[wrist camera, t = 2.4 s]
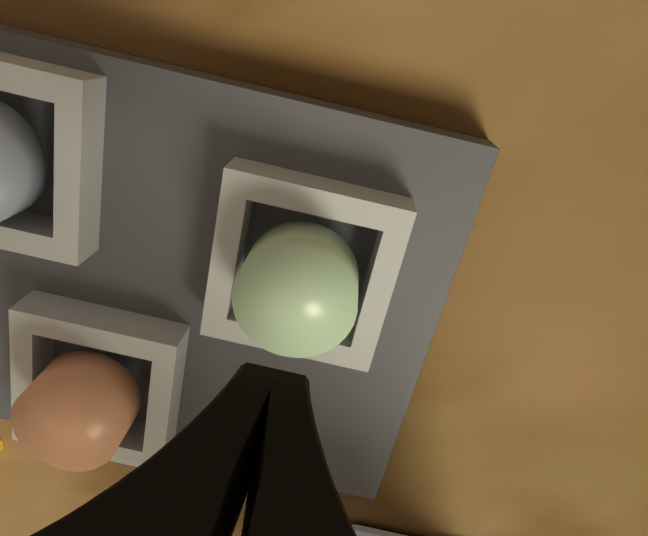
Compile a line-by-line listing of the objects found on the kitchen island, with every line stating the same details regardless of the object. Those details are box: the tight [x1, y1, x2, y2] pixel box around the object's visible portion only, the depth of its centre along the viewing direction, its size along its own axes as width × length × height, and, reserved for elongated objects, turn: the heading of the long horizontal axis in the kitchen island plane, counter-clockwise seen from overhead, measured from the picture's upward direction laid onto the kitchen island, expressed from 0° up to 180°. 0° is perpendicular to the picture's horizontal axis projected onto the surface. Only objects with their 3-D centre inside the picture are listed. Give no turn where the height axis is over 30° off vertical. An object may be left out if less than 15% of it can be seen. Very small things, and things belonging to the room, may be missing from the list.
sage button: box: [232, 221, 359, 358], centre depth 16 cm, size 4×4×2 cm
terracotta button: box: [10, 350, 141, 471], centre depth 19 cm, size 4×4×2 cm
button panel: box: [0, 24, 499, 500], centre depth 19 cm, size 15×18×3 cm
